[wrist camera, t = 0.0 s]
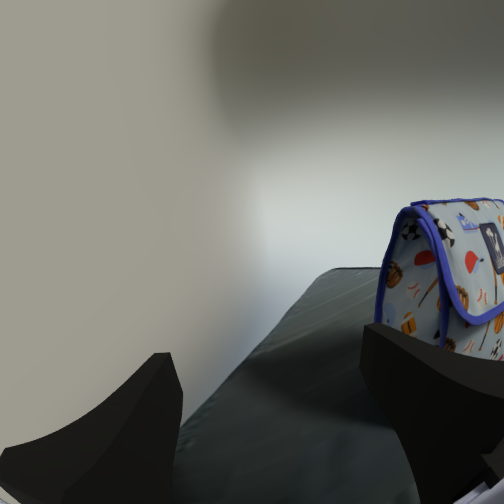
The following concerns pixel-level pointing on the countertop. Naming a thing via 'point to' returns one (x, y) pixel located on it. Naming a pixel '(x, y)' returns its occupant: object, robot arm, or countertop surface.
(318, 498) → the countertop surface
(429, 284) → the lunch bag
